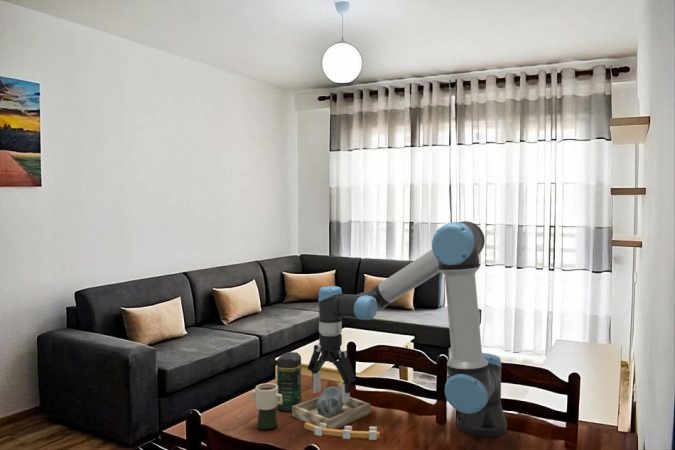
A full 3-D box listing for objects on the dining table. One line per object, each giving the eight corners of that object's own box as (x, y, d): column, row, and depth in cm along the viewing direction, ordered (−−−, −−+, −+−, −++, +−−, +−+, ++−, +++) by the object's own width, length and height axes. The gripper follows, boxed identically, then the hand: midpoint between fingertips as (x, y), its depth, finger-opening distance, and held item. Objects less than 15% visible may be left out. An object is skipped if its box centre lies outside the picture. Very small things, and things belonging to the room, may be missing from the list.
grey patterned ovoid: (342, 414, 169) (331, 383, 172) (317, 425, 171) (305, 395, 174) (355, 409, 182) (344, 381, 185) (331, 420, 184) (320, 391, 187)
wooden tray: (370, 414, 179) (370, 403, 179) (328, 431, 165) (328, 420, 165) (333, 401, 191) (333, 391, 191) (292, 416, 177) (291, 406, 177)
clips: (378, 434, 163) (378, 426, 163) (376, 441, 158) (375, 433, 158) (317, 429, 167) (317, 422, 167) (313, 436, 162) (313, 428, 162)
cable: (380, 436, 162) (380, 431, 162) (377, 441, 158) (377, 437, 158) (305, 426, 170) (305, 422, 169) (301, 431, 166) (301, 427, 166)
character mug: (288, 425, 171) (287, 385, 170) (277, 434, 164) (276, 392, 163) (258, 420, 175) (257, 381, 174) (246, 429, 168) (245, 388, 168)
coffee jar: (297, 412, 181) (296, 358, 180) (274, 411, 182) (273, 357, 182) (304, 402, 190) (303, 350, 190) (282, 401, 192) (282, 349, 191)
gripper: (366, 337, 171) (366, 403, 172) (313, 325, 189) (313, 385, 189) (350, 342, 166) (350, 409, 167) (297, 329, 183) (297, 390, 184)
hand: (331, 396), depth 178 cm, fingers open, 13 cm apart
